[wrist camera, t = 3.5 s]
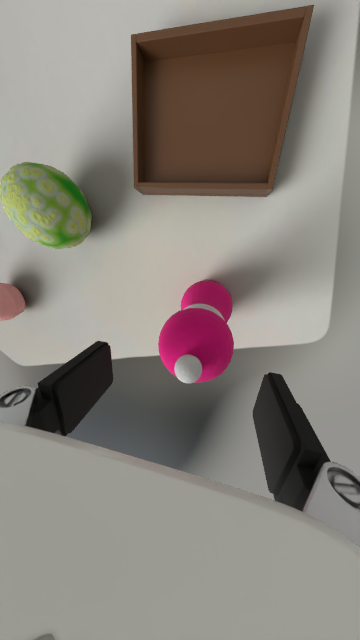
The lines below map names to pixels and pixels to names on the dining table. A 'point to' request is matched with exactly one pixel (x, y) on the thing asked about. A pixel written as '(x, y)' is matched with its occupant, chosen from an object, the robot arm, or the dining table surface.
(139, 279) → the dining table surface
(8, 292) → the pink bulb vase
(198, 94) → the tray
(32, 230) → the decorative ball
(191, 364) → the pepper mill
